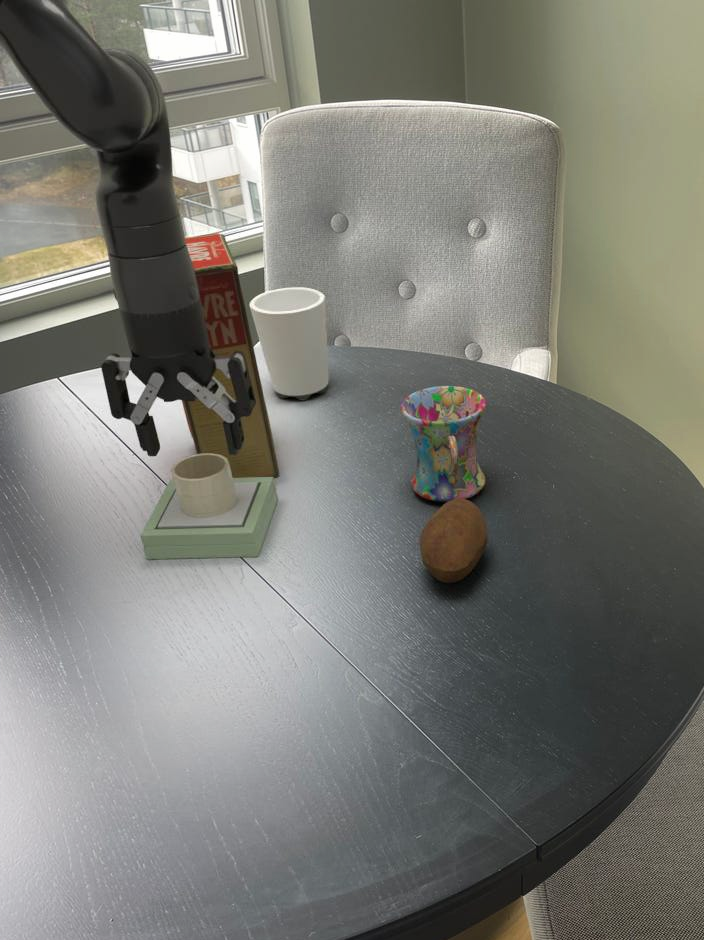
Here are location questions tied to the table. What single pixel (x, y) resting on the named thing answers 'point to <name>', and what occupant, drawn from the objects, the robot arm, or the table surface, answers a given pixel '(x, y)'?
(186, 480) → the beige round pot
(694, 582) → the table surface
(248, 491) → the pan
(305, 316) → the cup
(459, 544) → the potato
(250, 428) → the food packaging
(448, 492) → the mug
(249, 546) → the scale
